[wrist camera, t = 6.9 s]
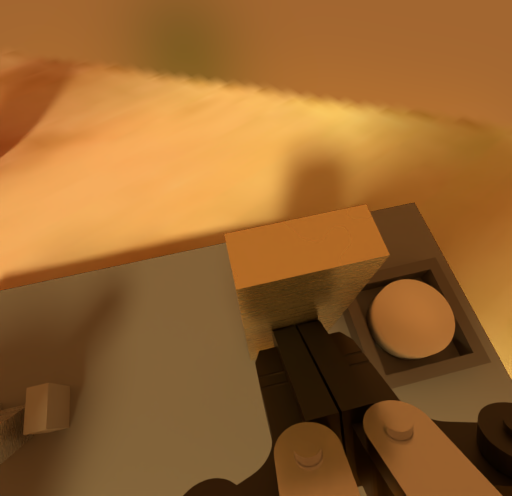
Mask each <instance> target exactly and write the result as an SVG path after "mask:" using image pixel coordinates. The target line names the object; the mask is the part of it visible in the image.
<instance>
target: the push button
mask: <svg viewBox="0 0 512 496" xmlns="http://www.w3.org/2000/svg"><path fill="white" fill-rule="evenodd" d="M367 322H368V327H369V330H370V333H371V335H372V337H373V338H374V340H375V341H376V342H377V344H378V345H379V346H380V347H381V348H382V349H383V350H385V351H386V352H387V353H389V354H391V355H393V356H395V357H397V358H400V359H404V360H417V359H421V358H424V357H427V356H430V355H433V354H436V353H438V352H440V351H442V350H443V349H445V348H446V347H447V346H448V345H449V343H450V342H451V340H452V338H453V335H454V332H455V319H454V315H453V312H452V309H451V307H450V305H449V304H448V302H447V301H446V299H445V298H444V297H443V296H442V295H441V294H440V293H439V292H438V291H437V290H436V289H434V288H433V287H431V286H430V285H428V284H426V283H423V282H420V281H417V280H411V279H403V280H397V281H394V282H392V283H390V284H388V285H387V286H386V287H385V288H384V289H383V290H382V291H381V292H380V293H379V294H378V295H377V296H376V297H375V298H374V299H373V300H372V302H371V304H370V306H369V308H368V313H367Z"/></svg>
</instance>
